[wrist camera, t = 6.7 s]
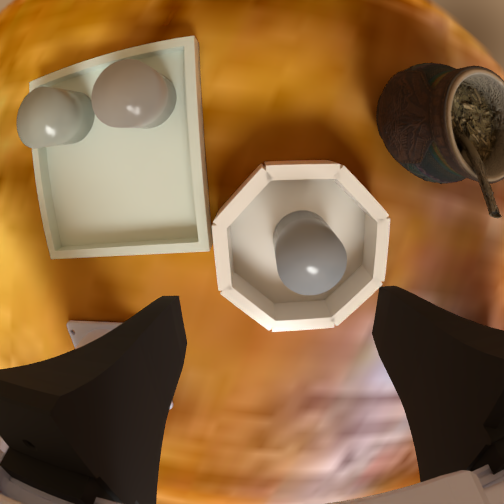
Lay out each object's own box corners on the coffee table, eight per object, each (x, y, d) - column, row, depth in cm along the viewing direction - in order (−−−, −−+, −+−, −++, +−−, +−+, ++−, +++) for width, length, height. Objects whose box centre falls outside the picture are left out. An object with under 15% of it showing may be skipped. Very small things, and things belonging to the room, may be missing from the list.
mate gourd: (458, 87, 16) (561, 81, 7) (447, 187, 19) (547, 231, 9) (369, 58, 16) (457, 12, 6) (359, 170, 19) (445, 208, 9)
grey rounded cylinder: (330, 262, 20) (346, 291, 16) (275, 268, 20) (279, 298, 16) (329, 207, 19) (346, 225, 15) (270, 213, 19) (273, 232, 15)
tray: (213, 242, 20) (209, 251, 19) (61, 251, 21) (51, 259, 19) (198, 43, 16) (194, 35, 14) (42, 83, 16) (29, 82, 15)
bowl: (365, 300, 22) (378, 323, 19) (227, 309, 22) (223, 333, 19) (373, 160, 18) (392, 165, 15) (214, 164, 18) (206, 169, 16)
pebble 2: (178, 124, 17) (158, 121, 13) (123, 133, 17) (93, 133, 13) (175, 68, 16) (155, 52, 12) (120, 79, 16) (90, 68, 12)
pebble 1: (96, 138, 17) (63, 141, 14) (54, 148, 17) (18, 154, 14) (93, 86, 16) (60, 78, 12) (51, 99, 16) (16, 97, 12)
